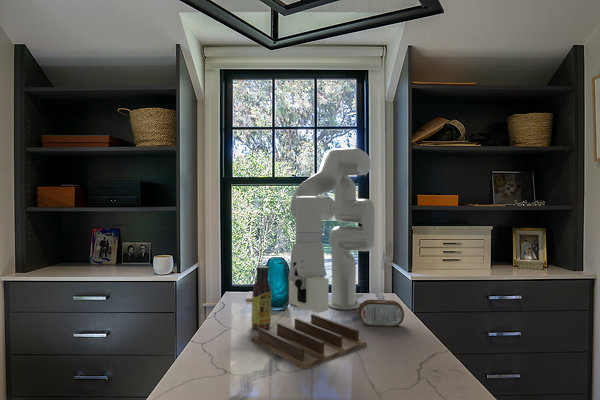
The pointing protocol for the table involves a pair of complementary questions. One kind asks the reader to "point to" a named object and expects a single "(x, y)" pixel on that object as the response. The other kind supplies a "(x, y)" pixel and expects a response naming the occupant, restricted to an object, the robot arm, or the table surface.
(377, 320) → the tin
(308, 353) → the dish rack
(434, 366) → the table surface
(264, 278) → the sauce bottle
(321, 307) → the white rectangular box
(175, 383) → the table surface
